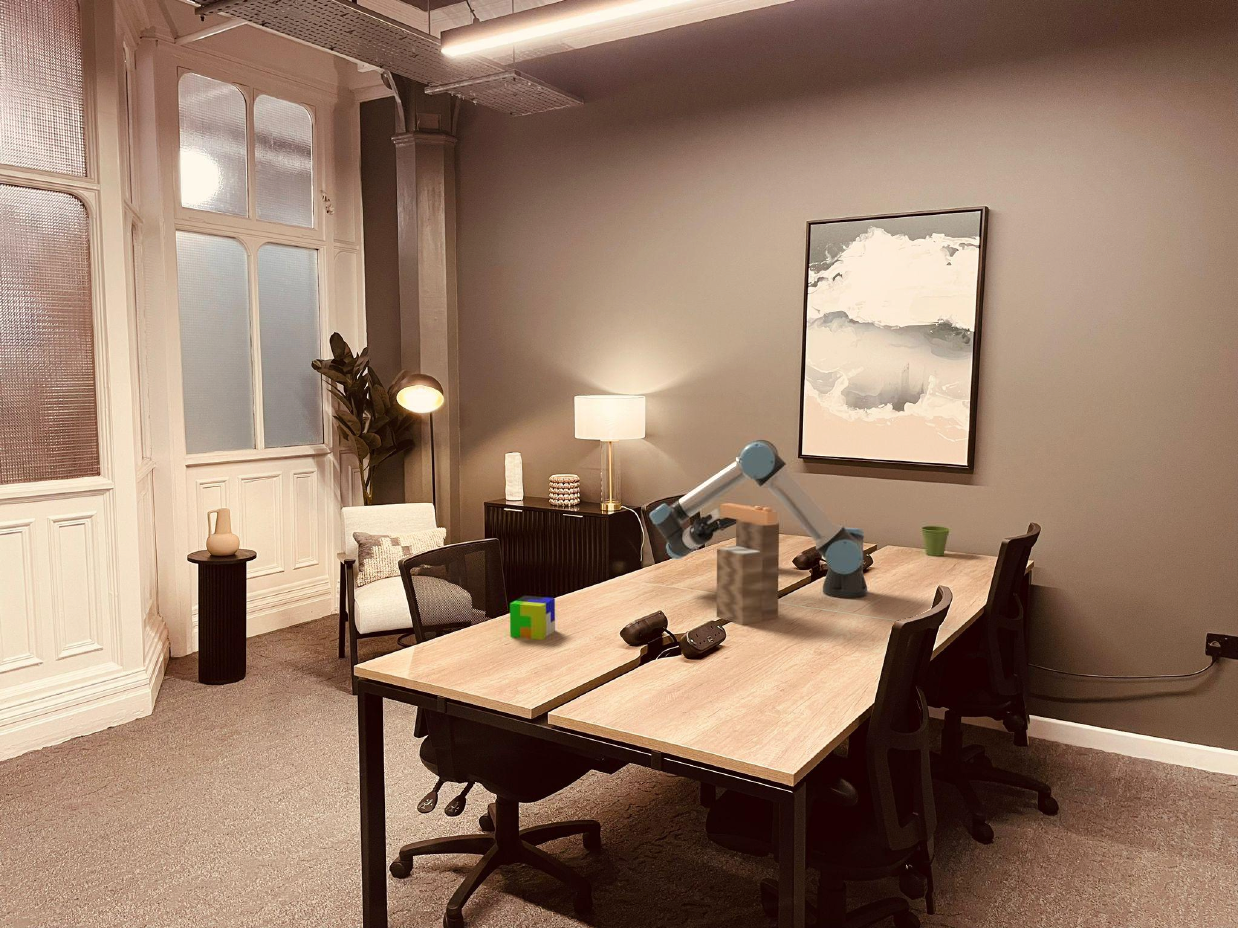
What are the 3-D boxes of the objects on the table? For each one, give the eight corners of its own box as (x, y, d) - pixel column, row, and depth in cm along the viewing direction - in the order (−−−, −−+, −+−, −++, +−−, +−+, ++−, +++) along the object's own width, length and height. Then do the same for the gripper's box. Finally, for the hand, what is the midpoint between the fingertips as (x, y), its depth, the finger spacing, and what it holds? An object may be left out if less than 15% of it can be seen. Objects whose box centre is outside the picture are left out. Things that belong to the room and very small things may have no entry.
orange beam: (720, 516, 303) (720, 501, 302) (729, 515, 305) (730, 499, 304) (767, 525, 285) (767, 509, 284) (776, 524, 287) (776, 508, 286)
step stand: (716, 616, 293) (717, 522, 290) (751, 609, 301) (752, 518, 298) (742, 625, 283) (743, 528, 280) (777, 617, 291) (779, 523, 288)
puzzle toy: (555, 630, 278) (554, 598, 277) (541, 639, 269) (541, 606, 268) (524, 627, 281) (524, 595, 280) (510, 636, 272) (509, 603, 271)
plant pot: (915, 552, 393) (915, 526, 392) (941, 551, 394) (942, 525, 393) (927, 557, 381) (928, 530, 380) (954, 557, 382) (955, 530, 381)
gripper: (729, 540, 321) (766, 517, 305) (672, 548, 307) (708, 524, 291) (722, 520, 324) (759, 496, 307) (665, 528, 309) (701, 502, 293)
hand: (734, 510), depth 299 cm, fingers open, 13 cm apart
